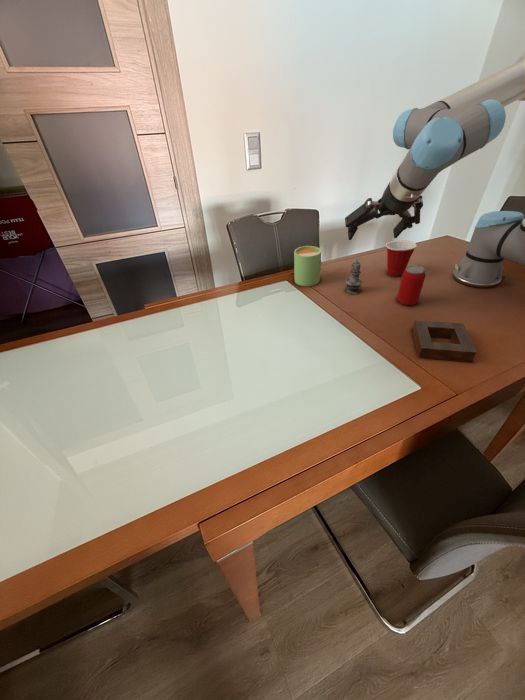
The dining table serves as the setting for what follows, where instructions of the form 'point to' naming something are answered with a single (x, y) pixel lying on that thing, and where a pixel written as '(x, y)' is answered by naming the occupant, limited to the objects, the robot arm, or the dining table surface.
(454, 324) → the socket base
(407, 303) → the beverage can
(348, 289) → the grey tall piece
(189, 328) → the dining table surface
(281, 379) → the dining table surface
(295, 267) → the mug
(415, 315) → the dining table surface
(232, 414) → the dining table surface
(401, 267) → the plastic cup
